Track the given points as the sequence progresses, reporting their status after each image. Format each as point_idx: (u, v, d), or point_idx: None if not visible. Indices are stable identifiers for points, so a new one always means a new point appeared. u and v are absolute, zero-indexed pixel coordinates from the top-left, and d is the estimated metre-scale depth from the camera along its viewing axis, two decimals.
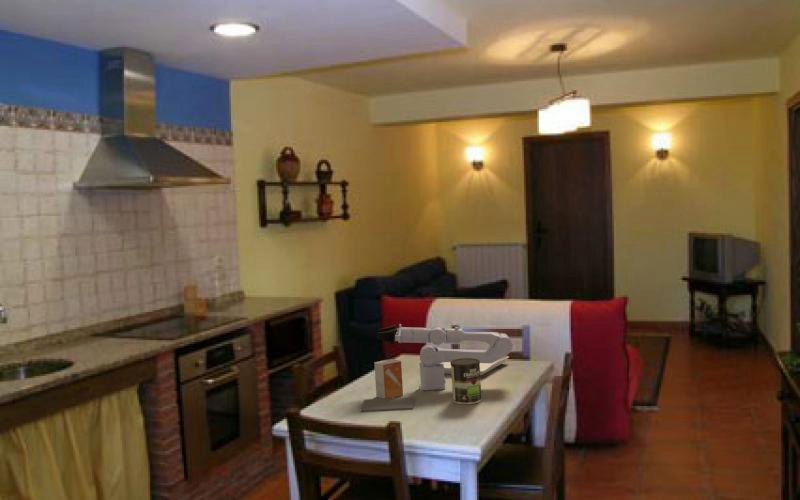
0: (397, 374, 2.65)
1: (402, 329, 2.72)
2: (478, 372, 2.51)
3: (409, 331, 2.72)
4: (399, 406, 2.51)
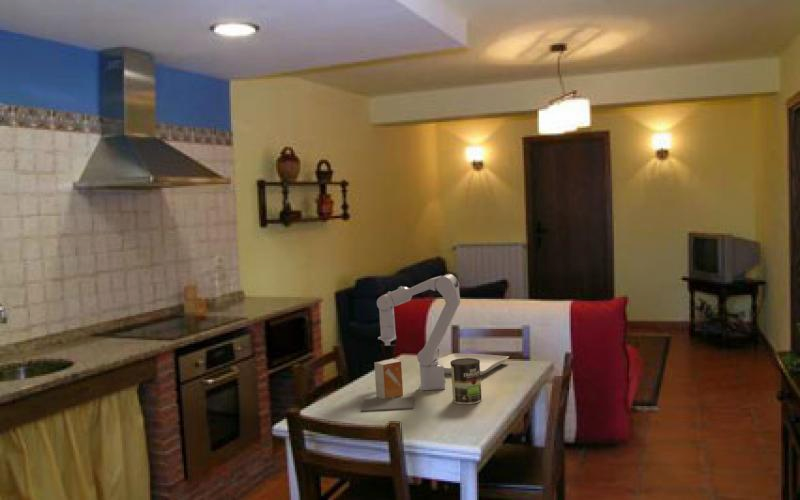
0: (397, 374, 2.65)
1: (381, 336, 2.77)
2: (478, 372, 2.51)
3: (382, 329, 2.76)
4: (399, 406, 2.51)
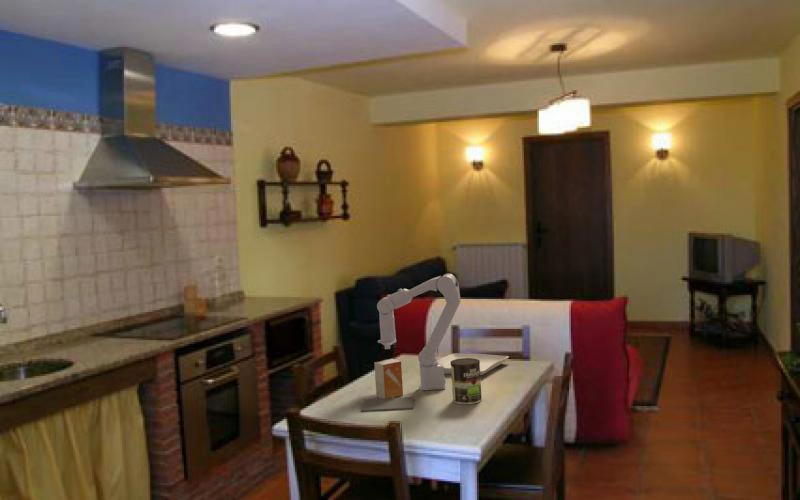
0: (397, 374, 2.65)
1: (381, 339, 2.76)
2: (478, 372, 2.51)
3: (382, 333, 2.75)
4: (399, 406, 2.51)
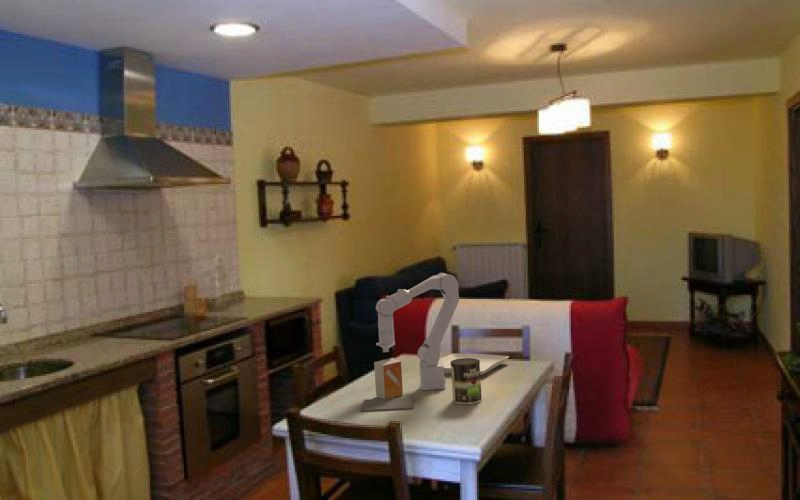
0: (397, 374, 2.64)
1: (380, 342, 2.69)
2: (478, 372, 2.51)
3: (381, 335, 2.68)
4: (399, 406, 2.51)
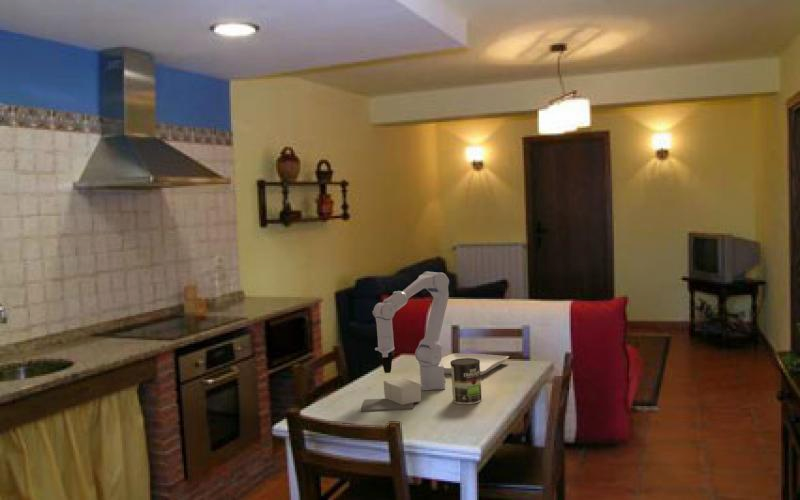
0: None
1: (379, 347, 2.62)
2: (478, 372, 2.51)
3: (380, 340, 2.61)
4: (399, 406, 2.51)
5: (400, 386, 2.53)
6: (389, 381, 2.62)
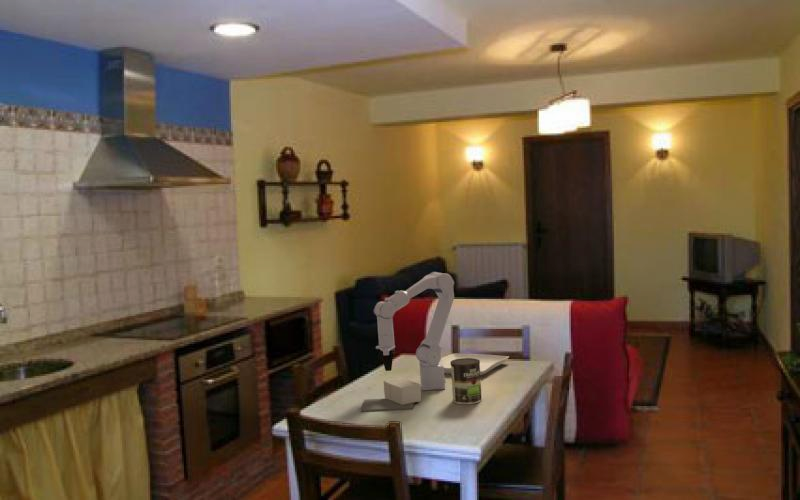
0: None
1: (380, 345, 2.65)
2: (478, 372, 2.51)
3: (381, 338, 2.64)
4: (399, 406, 2.51)
5: (400, 386, 2.53)
6: (389, 381, 2.62)
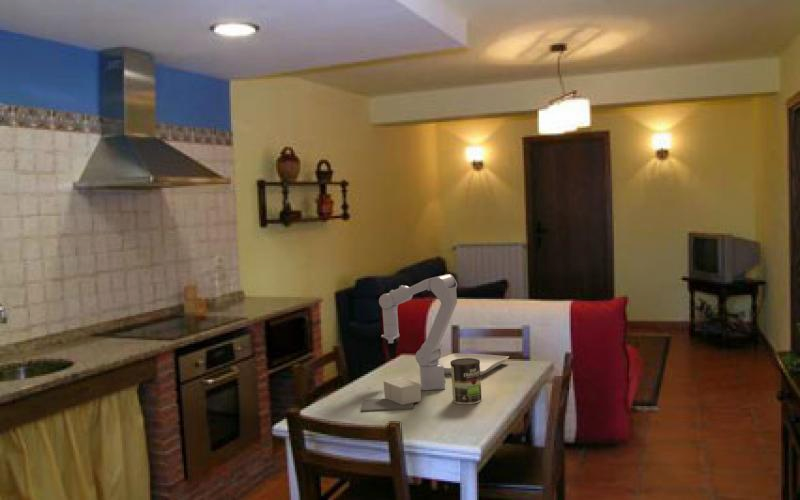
0: None
1: (385, 334, 2.81)
2: (478, 372, 2.51)
3: (386, 327, 2.80)
4: (399, 406, 2.51)
5: (400, 386, 2.53)
6: (389, 381, 2.62)
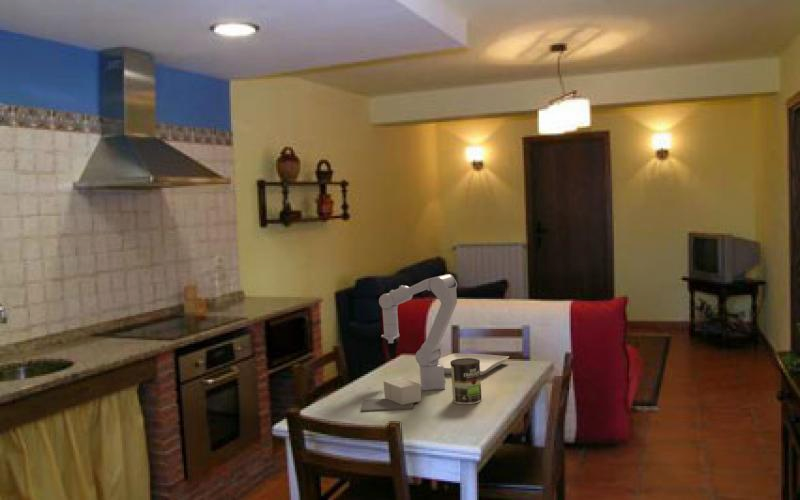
0: None
1: (385, 334, 2.81)
2: (478, 372, 2.51)
3: (386, 327, 2.80)
4: (399, 406, 2.51)
5: (400, 386, 2.53)
6: (389, 381, 2.62)
